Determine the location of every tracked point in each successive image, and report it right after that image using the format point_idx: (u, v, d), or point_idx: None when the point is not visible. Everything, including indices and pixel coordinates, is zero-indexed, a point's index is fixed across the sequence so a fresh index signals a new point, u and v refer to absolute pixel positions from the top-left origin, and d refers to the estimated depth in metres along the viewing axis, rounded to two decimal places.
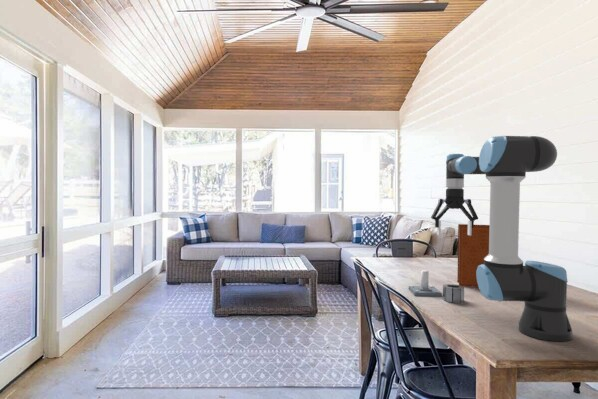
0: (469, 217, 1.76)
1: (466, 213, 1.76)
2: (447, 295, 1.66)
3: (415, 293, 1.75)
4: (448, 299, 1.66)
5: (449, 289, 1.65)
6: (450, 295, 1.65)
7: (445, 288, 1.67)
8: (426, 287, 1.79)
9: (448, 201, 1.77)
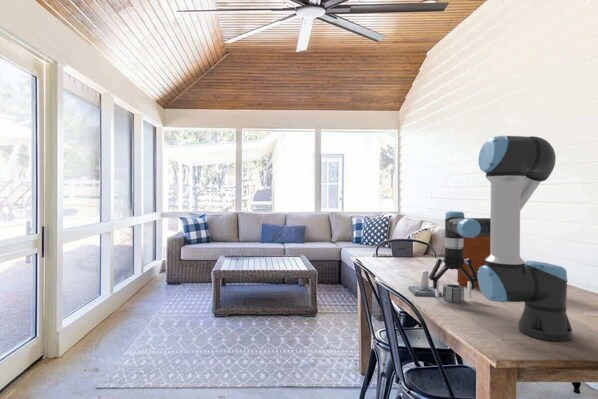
0: (469, 278, 1.67)
1: (466, 274, 1.67)
2: (447, 295, 1.66)
3: (415, 293, 1.75)
4: (448, 299, 1.66)
5: (449, 289, 1.65)
6: (450, 295, 1.65)
7: (445, 288, 1.67)
8: (426, 287, 1.79)
9: (447, 261, 1.67)
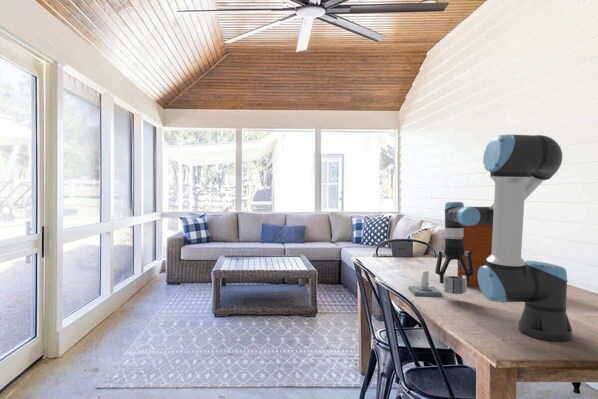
0: (465, 271, 1.66)
1: (463, 266, 1.66)
2: (448, 286, 1.65)
3: (415, 293, 1.75)
4: (449, 290, 1.65)
5: (450, 280, 1.65)
6: (451, 286, 1.64)
7: (446, 279, 1.66)
8: (426, 287, 1.79)
9: (447, 252, 1.67)
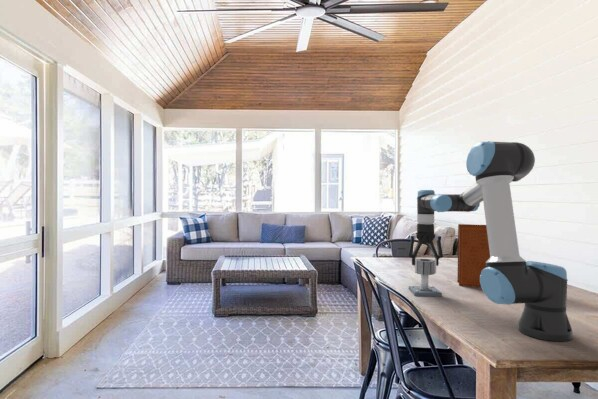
0: (435, 254, 1.79)
1: (433, 250, 1.79)
2: (419, 268, 1.78)
3: (415, 293, 1.75)
4: (420, 272, 1.78)
5: (420, 262, 1.78)
6: (421, 268, 1.77)
7: (417, 261, 1.79)
8: (426, 287, 1.79)
9: (419, 236, 1.79)
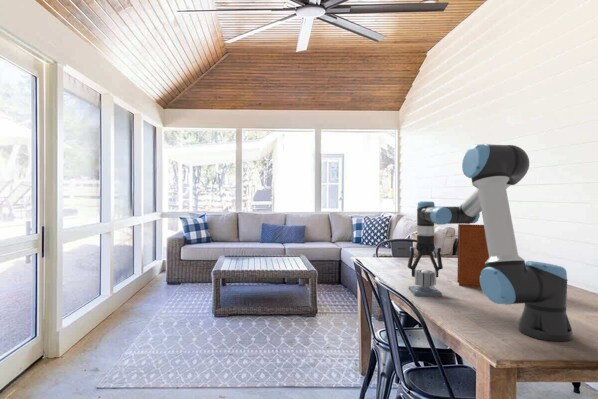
0: (434, 266, 1.79)
1: (433, 261, 1.79)
2: (418, 279, 1.78)
3: (415, 293, 1.75)
4: (419, 283, 1.78)
5: (420, 274, 1.78)
6: (421, 279, 1.77)
7: (417, 273, 1.79)
8: (426, 287, 1.79)
9: (419, 248, 1.79)
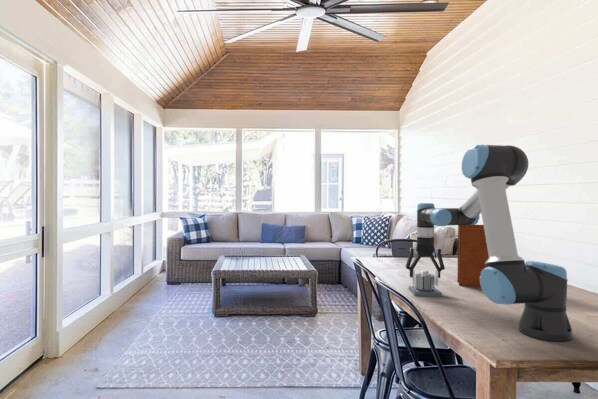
0: (436, 267, 1.79)
1: (434, 262, 1.79)
2: (418, 283, 1.78)
3: (415, 293, 1.75)
4: (419, 287, 1.78)
5: (420, 277, 1.78)
6: (421, 283, 1.77)
7: (417, 277, 1.79)
8: None
9: (419, 249, 1.79)
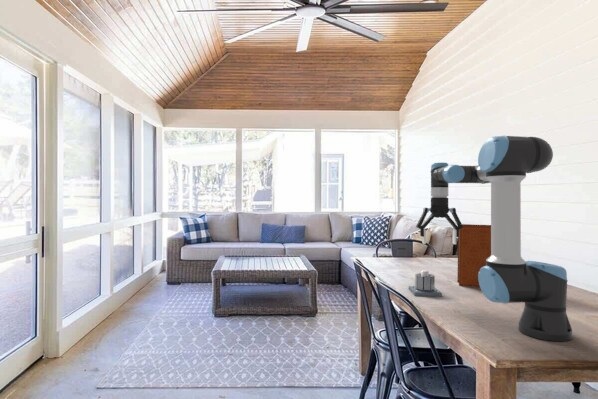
0: (454, 226, 1.76)
1: (451, 222, 1.76)
2: (418, 283, 1.78)
3: (415, 293, 1.75)
4: (419, 287, 1.78)
5: (420, 277, 1.78)
6: (421, 283, 1.77)
7: (417, 277, 1.79)
8: None
9: (433, 210, 1.76)
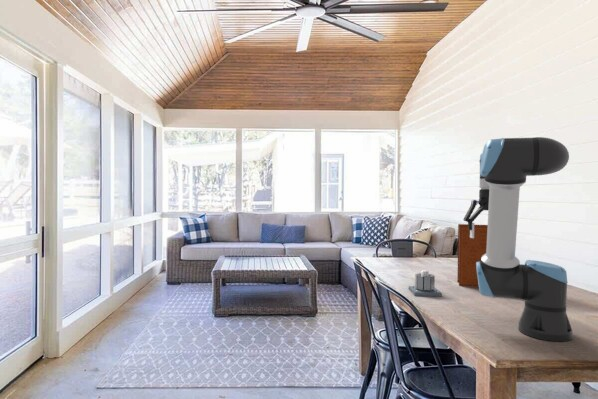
0: None
1: None
2: (418, 283, 1.78)
3: (415, 293, 1.75)
4: (419, 287, 1.78)
5: (420, 277, 1.78)
6: (421, 283, 1.77)
7: (417, 277, 1.79)
8: None
9: (482, 202, 1.68)
